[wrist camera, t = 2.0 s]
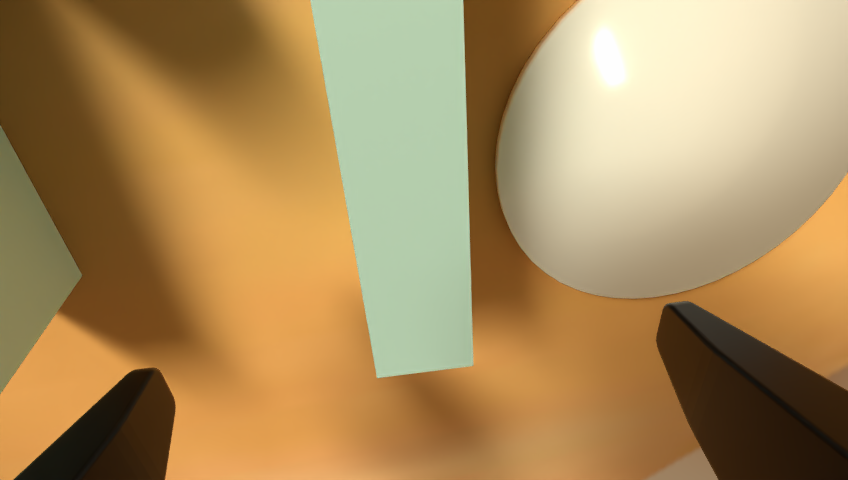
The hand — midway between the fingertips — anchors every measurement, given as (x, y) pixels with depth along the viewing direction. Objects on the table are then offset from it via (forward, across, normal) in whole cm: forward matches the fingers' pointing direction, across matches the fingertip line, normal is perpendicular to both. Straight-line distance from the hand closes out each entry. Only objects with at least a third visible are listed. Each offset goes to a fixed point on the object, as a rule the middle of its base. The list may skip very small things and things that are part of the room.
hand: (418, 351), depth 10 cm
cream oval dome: (+6, -8, -1) cm, 10 cm away
